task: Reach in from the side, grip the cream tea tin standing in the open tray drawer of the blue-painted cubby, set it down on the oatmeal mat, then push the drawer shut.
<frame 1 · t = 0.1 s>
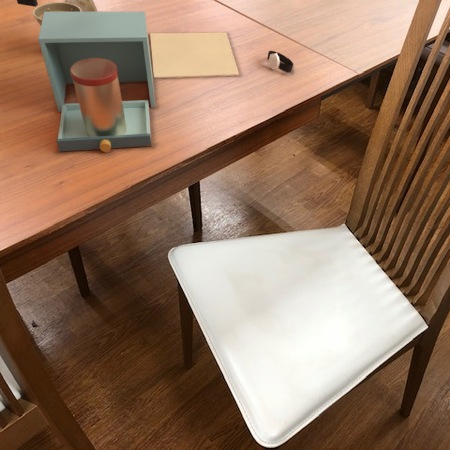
mug: (78, 22, 121), on the table
mat: (192, 54, 115), on the table
flower pot: (67, 51, 111), on the table
watch: (279, 67, 115), on the table
cubby: (108, 98, 99), on the table
tea tin: (106, 129, 91), point 1 cm above the table, touching drawer
drawer: (106, 125, 91), point 1 cm above the table, slide at 10.0 cm, touching tea tin
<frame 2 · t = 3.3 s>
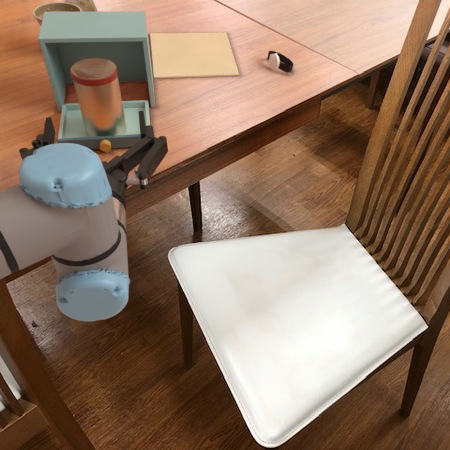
hand: (97, 121, 80), 9 cm above the table, tool horizontal, fingers open, 13 cm apart
nothing on the table moved.
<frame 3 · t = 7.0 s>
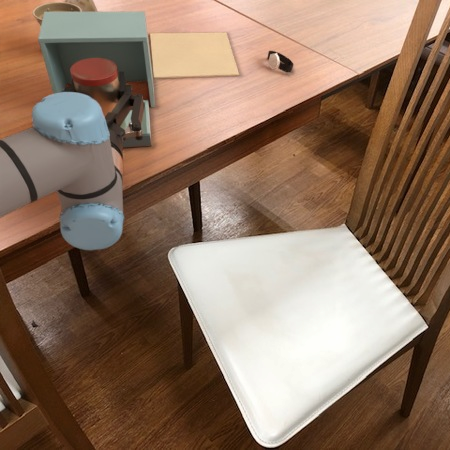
hand: (99, 79, 89), 8 cm above the table, tool horizontal, fingers closed on tea tin, 7 cm apart
tea tin: (106, 129, 91), point 1 cm above the table, touching drawer, gripper
everything else where it was.
when the fingers open (8 cm above the table, at t = 18.1 s): tea tin stays where it is, resting on mat.
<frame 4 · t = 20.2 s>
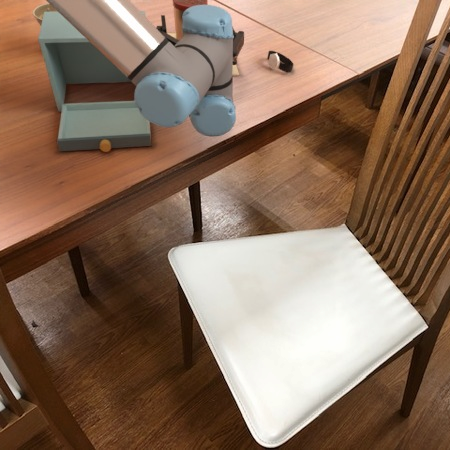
hand: (193, 21, 107), 9 cm above the table, tool horizontal, fingers open, 12 cm apart
tea tin: (193, 52, 115), resting on mat
drawer: (106, 125, 91), point 1 cm above the table, slide at 10.0 cm
everything else where it was.
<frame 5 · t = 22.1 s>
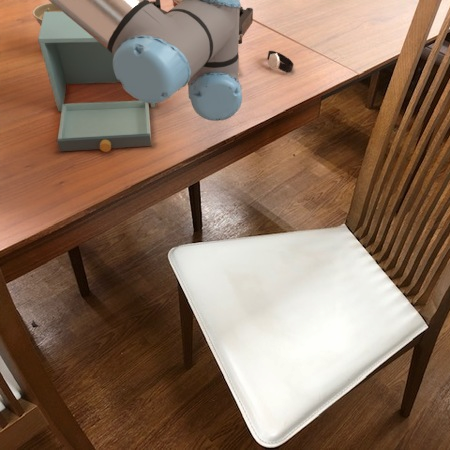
nothing on the table moved.
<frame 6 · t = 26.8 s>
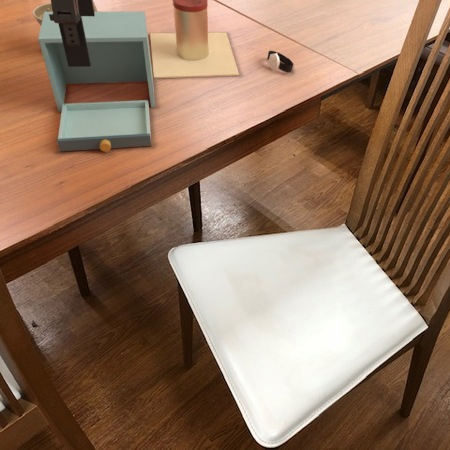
hand: (82, 38, 71), 22 cm above the table, tool pointing down, fingers open, 13 cm apart
nothing on the table moved.
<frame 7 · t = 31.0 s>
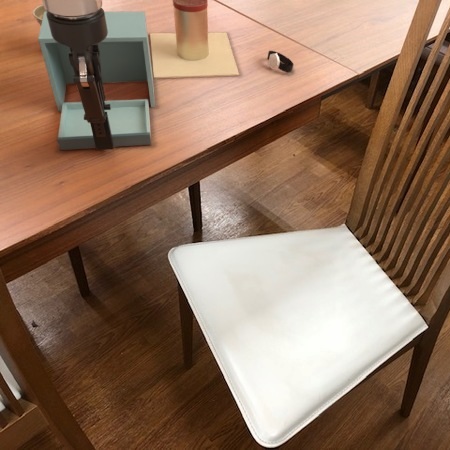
hand: (105, 147, 86), 2 cm above the table, tool pointing down, fingers closed
drawer: (106, 124, 92), point 1 cm above the table, slide at 9.6 cm
everything else where it was.
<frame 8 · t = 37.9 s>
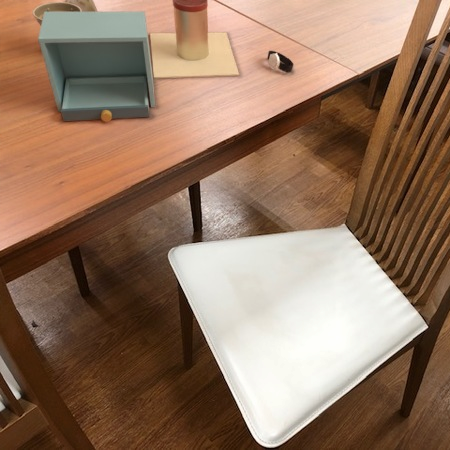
drawer: (106, 97, 97), point 1 cm above the table, slide at 0.9 cm
everything else where it was.
at the end: tea tin inside the target area on the mat (0.1 cm from its centre), point 0.4 cm above the mat's base; tea tin tilted 0°; drawer slide at 0.9 cm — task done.
